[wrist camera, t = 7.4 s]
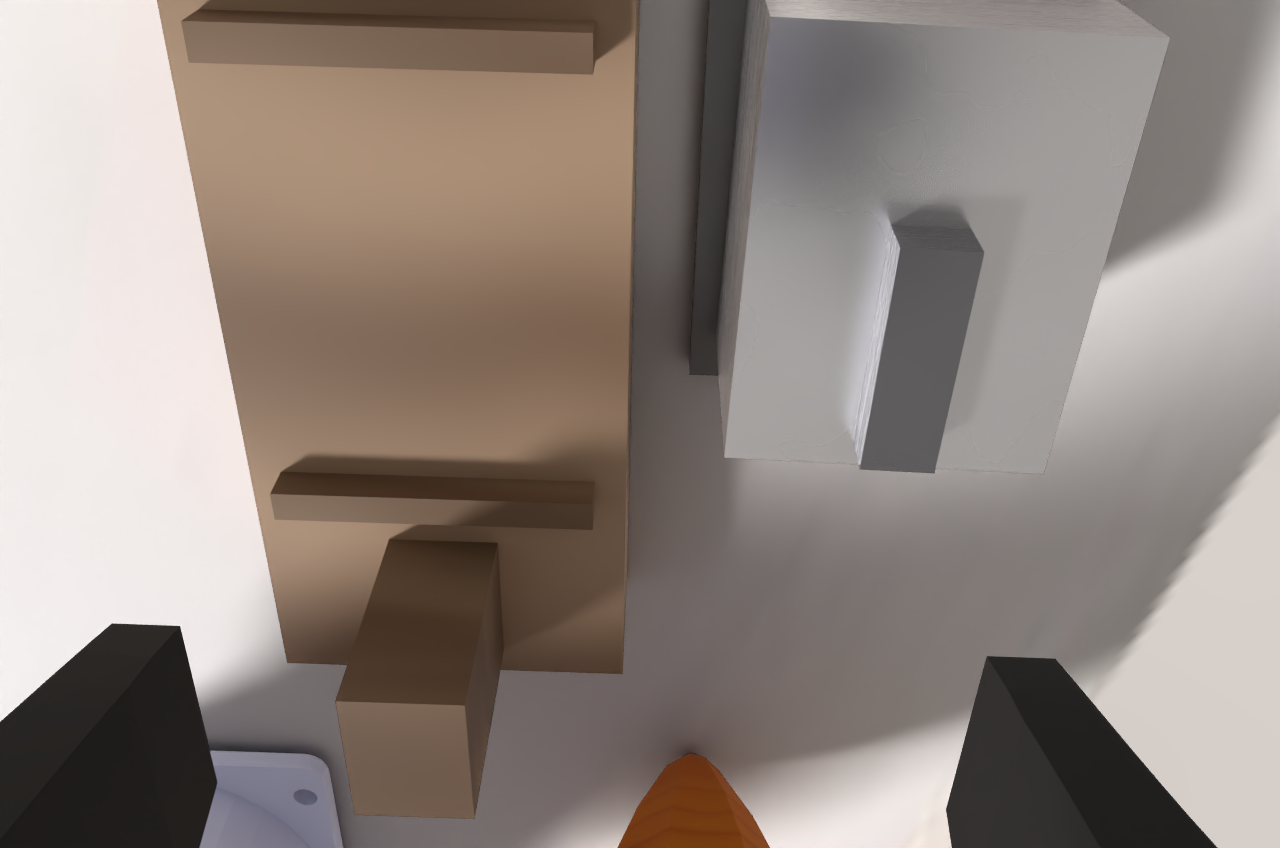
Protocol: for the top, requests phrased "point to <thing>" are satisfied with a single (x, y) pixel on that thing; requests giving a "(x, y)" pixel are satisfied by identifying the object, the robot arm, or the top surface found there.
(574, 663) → the body
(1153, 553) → the top surface
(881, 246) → the lever cap
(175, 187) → the top surface
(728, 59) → the rubber mat
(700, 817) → the carrot
